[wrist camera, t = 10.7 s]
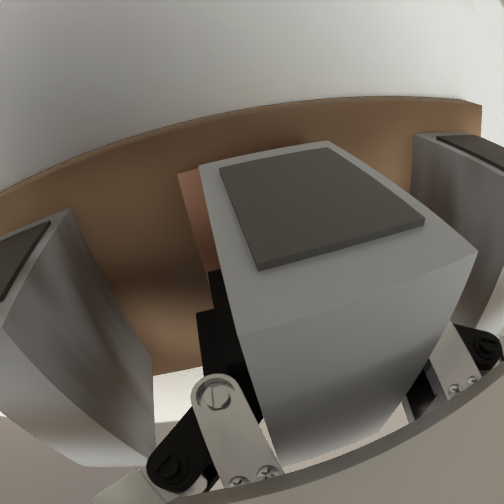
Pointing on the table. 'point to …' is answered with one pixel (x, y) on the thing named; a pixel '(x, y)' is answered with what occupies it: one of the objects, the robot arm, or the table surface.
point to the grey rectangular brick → (330, 288)
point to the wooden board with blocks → (195, 254)
